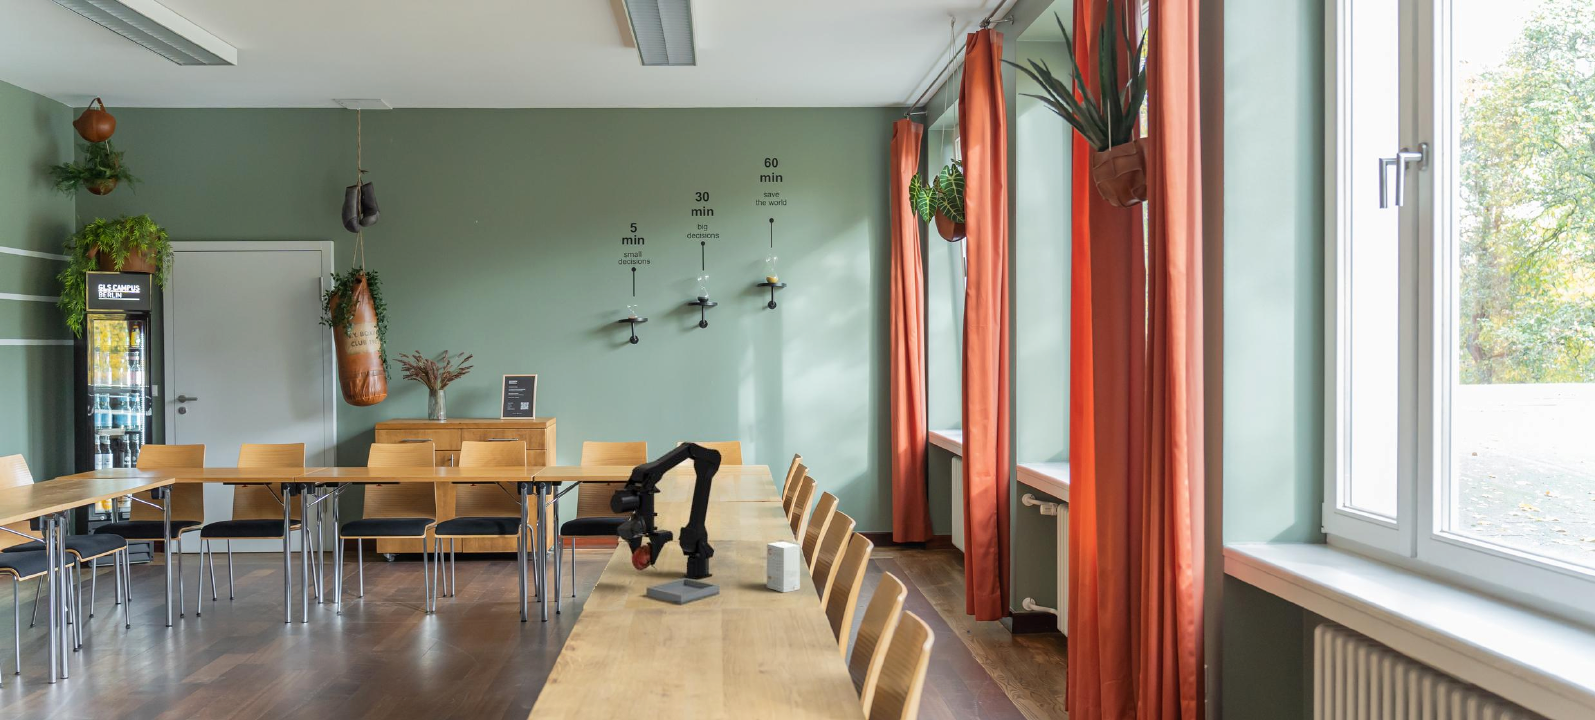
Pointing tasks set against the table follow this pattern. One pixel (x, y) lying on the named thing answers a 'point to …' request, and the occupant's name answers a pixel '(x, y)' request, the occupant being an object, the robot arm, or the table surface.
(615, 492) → the robot arm
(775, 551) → the small box
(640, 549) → the pomegranate
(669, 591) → the tray
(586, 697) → the table surface
